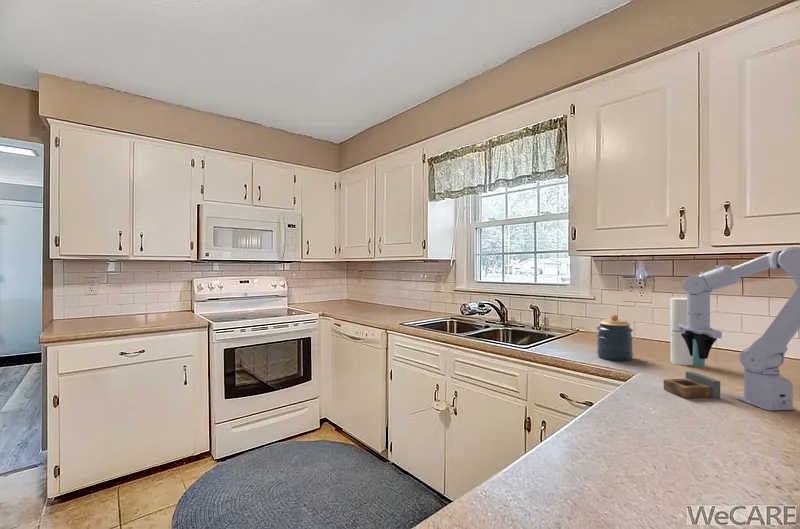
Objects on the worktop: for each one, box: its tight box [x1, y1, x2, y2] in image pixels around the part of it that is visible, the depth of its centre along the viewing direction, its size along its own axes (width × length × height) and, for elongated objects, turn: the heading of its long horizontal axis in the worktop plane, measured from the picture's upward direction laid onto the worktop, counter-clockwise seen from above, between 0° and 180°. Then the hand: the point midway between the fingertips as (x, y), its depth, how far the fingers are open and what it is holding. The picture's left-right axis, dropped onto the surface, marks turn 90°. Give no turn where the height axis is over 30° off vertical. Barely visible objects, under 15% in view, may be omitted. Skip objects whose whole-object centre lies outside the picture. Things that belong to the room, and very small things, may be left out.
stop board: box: [685, 371, 721, 399], centre depth 116 cm, size 10×2×5 cm, turn 4°
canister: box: [596, 314, 634, 362], centre depth 160 cm, size 13×13×18 cm
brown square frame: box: [663, 378, 711, 399], centre depth 116 cm, size 8×8×3 cm
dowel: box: [692, 338, 706, 367], centre depth 122 cm, size 3×3×8 cm
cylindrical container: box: [669, 297, 694, 366], centre depth 150 cm, size 7×7×25 cm
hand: (698, 357), depth 122 cm, fingers closed on dowel, 3 cm apart
